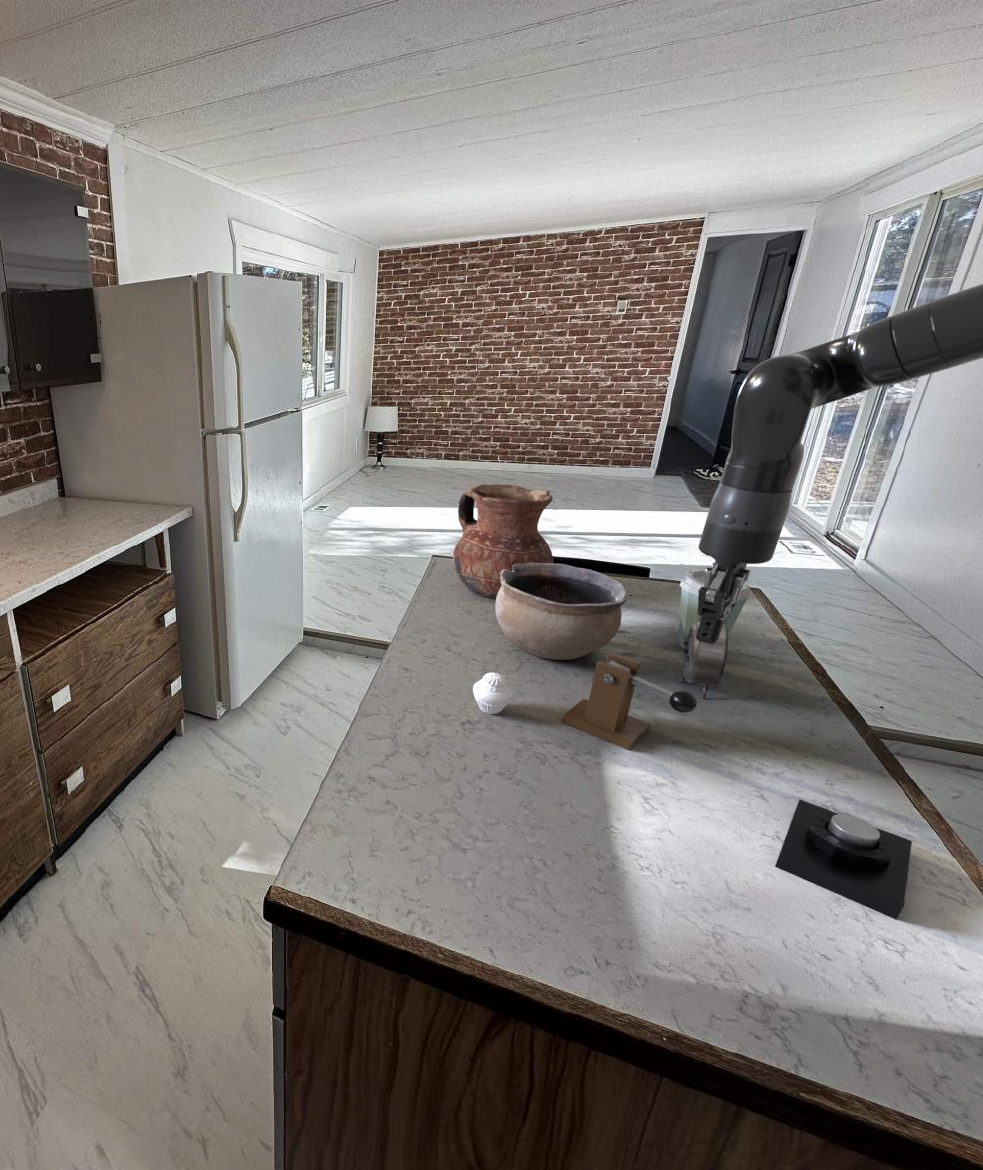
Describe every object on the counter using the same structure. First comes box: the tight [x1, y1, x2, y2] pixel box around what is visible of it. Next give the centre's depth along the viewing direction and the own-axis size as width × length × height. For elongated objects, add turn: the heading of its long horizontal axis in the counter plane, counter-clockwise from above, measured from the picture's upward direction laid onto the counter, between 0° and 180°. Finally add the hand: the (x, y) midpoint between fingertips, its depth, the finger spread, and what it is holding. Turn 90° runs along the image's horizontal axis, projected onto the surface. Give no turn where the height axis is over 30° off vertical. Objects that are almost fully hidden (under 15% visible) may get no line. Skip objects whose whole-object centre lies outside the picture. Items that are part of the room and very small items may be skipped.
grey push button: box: [827, 813, 880, 850], centre depth 73 cm, size 4×4×2 cm
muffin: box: [472, 672, 513, 715], centre depth 105 cm, size 6×6×7 cm
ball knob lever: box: [608, 660, 698, 714], centre depth 94 cm, size 12×3×3 cm, turn 38°
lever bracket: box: [560, 652, 651, 751], centre depth 98 cm, size 10×8×12 cm
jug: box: [452, 483, 554, 599], centre depth 149 cm, size 22×21×25 cm
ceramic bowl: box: [494, 562, 630, 661], centre depth 122 cm, size 22×22×15 cm
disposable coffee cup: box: [678, 568, 751, 650], centre depth 120 cm, size 11×11×15 cm
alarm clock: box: [678, 622, 729, 699], centre depth 107 cm, size 11×5×16 cm, turn 147°
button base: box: [774, 799, 913, 920], centre depth 74 cm, size 13×10×4 cm
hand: (706, 640), depth 86 cm, fingers closed
